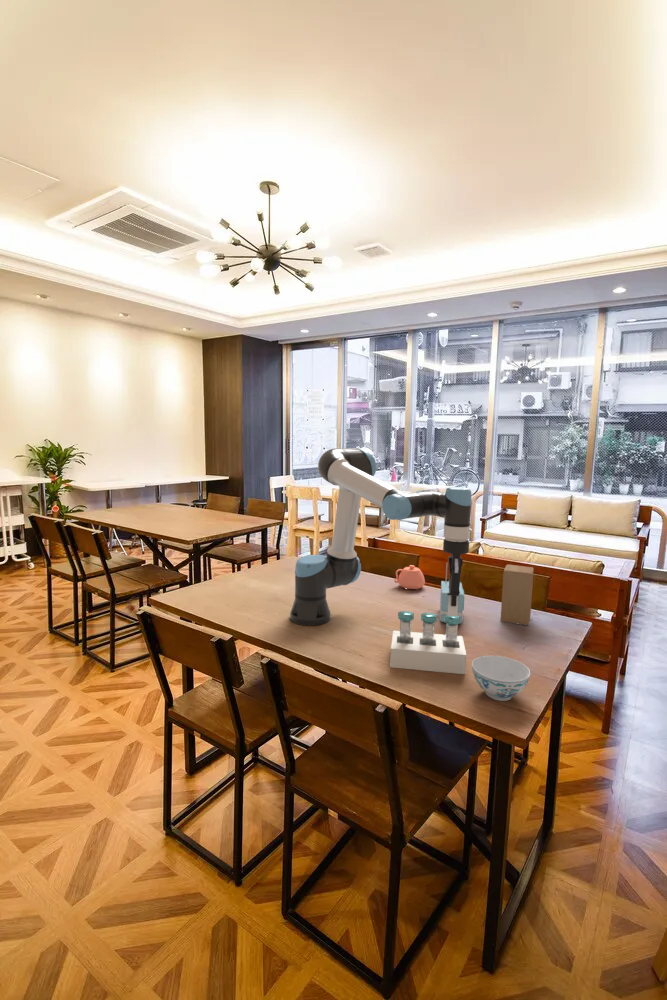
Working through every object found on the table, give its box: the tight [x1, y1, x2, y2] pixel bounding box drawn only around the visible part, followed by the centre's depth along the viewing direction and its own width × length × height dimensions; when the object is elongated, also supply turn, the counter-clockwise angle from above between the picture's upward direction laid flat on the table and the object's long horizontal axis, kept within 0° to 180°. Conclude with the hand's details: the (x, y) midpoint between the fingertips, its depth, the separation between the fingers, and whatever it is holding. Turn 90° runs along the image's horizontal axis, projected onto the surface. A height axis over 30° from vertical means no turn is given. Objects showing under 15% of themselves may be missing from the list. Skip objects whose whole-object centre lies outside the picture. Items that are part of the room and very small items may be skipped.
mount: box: [389, 630, 467, 675], centre depth 156 cm, size 22×14×6 cm, turn 80°
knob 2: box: [443, 615, 461, 648], centre depth 154 cm, size 5×5×9 cm
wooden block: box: [500, 564, 535, 626], centre depth 192 cm, size 10×10×20 cm
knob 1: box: [397, 610, 415, 644], centre depth 156 cm, size 5×5×9 cm
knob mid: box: [420, 612, 438, 646], centre depth 155 cm, size 5×5×9 cm
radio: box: [439, 562, 465, 624], centre depth 193 cm, size 16×9×20 cm, turn 168°
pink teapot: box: [393, 564, 426, 590], centre depth 230 cm, size 12×14×10 cm
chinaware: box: [471, 655, 531, 702], centre depth 136 cm, size 15×15×8 cm
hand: (452, 615), depth 153 cm, fingers closed
